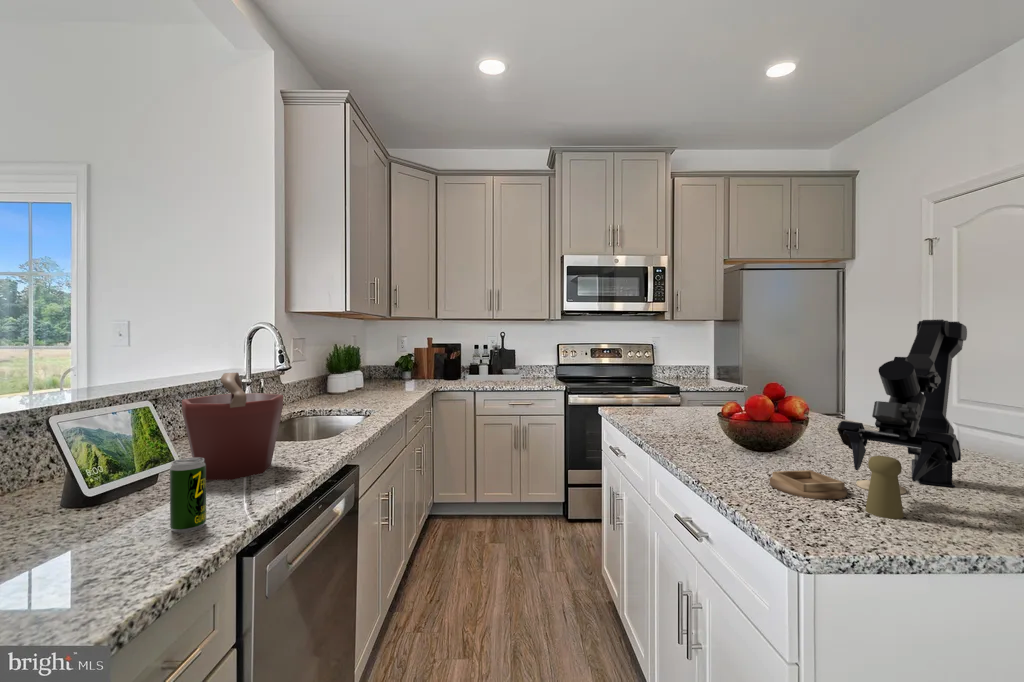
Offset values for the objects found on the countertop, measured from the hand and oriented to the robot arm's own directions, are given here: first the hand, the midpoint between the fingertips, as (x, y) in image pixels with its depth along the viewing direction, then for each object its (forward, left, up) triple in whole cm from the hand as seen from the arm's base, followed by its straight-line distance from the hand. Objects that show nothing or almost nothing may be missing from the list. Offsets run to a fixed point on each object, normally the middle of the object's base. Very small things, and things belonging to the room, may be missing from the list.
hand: (883, 474), depth 94 cm
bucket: (+141, +40, -8) cm, 146 cm away
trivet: (+12, -11, -8) cm, 18 cm away
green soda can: (+113, +66, -8) cm, 131 cm away
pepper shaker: (0, 0, -8) cm, 8 cm away
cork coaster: (-3, -19, -8) cm, 21 cm away
